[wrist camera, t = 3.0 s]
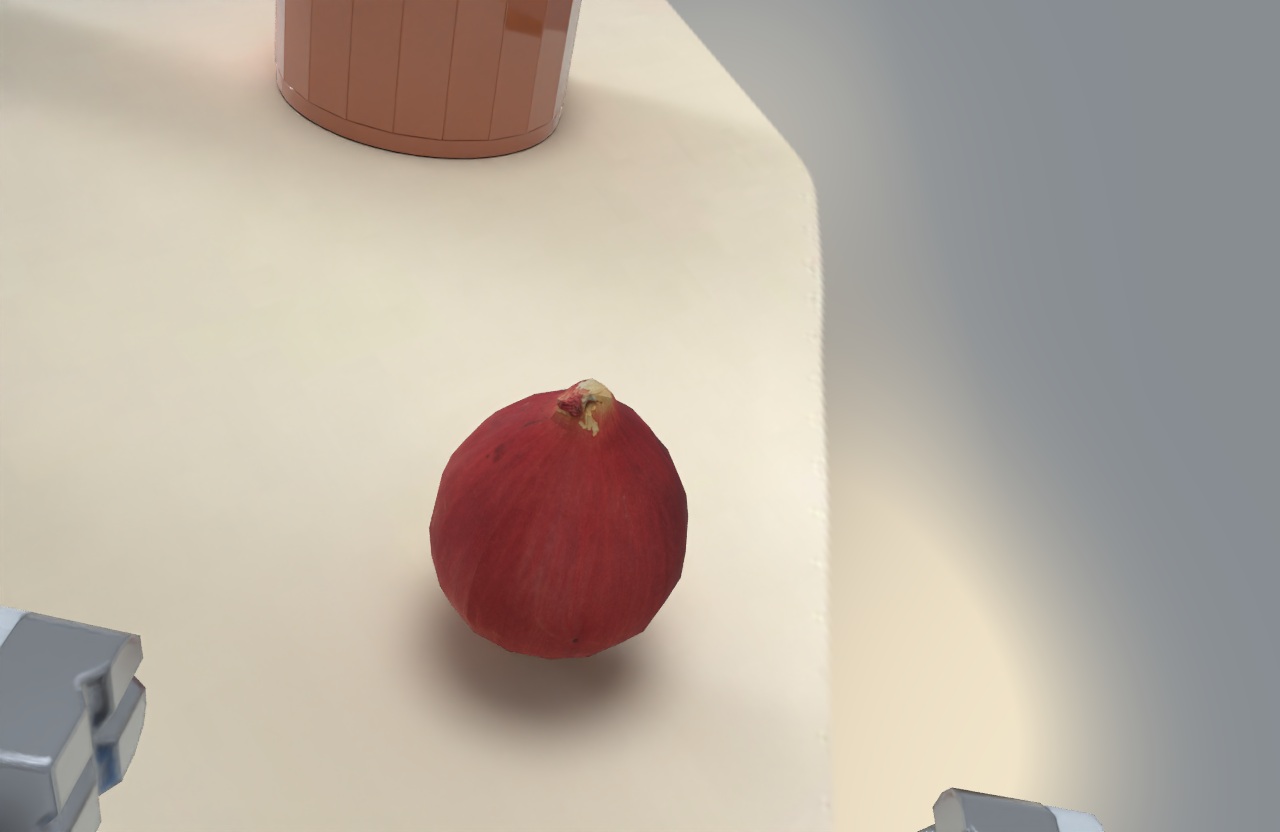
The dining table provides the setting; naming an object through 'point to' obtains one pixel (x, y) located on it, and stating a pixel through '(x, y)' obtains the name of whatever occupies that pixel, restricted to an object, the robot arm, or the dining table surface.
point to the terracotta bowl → (428, 71)
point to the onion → (560, 524)
